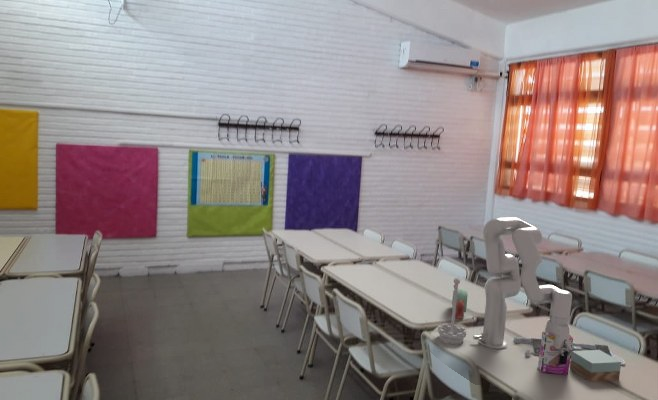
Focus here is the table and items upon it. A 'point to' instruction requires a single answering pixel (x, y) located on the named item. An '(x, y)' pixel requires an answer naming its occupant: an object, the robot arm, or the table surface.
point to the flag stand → (452, 324)
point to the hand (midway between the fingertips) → (554, 359)
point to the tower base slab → (594, 376)
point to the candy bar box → (552, 356)
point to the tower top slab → (595, 361)
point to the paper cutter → (575, 347)
